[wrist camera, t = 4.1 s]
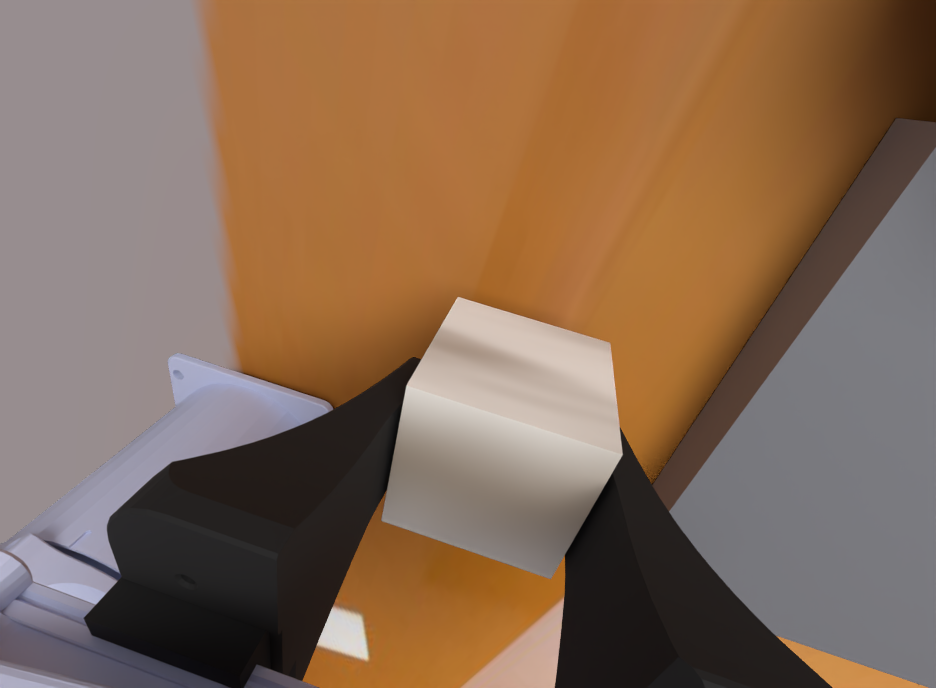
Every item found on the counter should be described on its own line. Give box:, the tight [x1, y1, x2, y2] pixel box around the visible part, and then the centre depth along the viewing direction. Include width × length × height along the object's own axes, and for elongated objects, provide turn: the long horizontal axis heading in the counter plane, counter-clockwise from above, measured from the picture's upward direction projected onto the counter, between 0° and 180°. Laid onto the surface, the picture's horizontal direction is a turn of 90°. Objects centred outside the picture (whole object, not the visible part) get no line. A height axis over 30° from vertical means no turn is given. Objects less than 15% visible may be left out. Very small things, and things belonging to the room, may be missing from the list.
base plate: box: [652, 118, 936, 688], centre depth 15 cm, size 18×14×2 cm
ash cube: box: [381, 297, 623, 579], centre depth 12 cm, size 4×4×4 cm
